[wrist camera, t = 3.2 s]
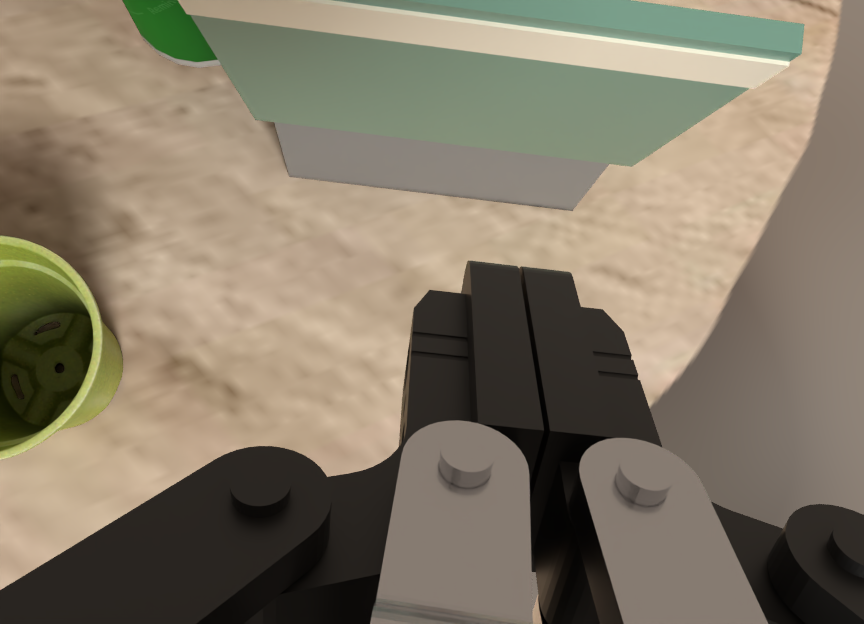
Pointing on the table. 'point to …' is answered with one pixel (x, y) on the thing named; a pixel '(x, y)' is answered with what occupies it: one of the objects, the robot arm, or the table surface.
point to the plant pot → (49, 347)
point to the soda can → (171, 32)
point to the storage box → (435, 167)
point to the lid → (495, 69)
